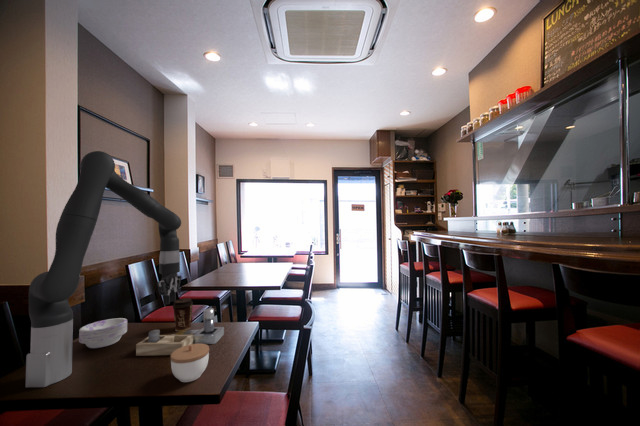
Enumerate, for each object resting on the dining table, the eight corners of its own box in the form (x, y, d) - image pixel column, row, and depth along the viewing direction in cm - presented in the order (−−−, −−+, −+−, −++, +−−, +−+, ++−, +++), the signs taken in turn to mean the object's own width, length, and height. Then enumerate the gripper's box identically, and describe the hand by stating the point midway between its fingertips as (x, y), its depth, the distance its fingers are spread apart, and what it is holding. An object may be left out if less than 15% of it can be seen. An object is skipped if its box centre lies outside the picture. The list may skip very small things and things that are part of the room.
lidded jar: (209, 364, 87) (209, 335, 88) (208, 381, 77) (208, 349, 78) (173, 371, 83) (173, 341, 84) (167, 391, 73) (167, 356, 74)
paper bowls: (99, 336, 114) (100, 318, 114) (135, 334, 114) (135, 316, 115) (67, 353, 98) (67, 331, 99) (108, 351, 99) (109, 330, 99)
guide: (194, 342, 104) (194, 340, 104) (162, 343, 104) (162, 341, 105) (201, 336, 111) (201, 333, 111) (171, 336, 111) (171, 334, 111)
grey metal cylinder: (211, 341, 105) (211, 311, 106) (201, 341, 105) (201, 311, 106) (215, 337, 109) (215, 308, 110) (206, 337, 109) (206, 308, 110)
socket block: (215, 343, 103) (215, 335, 103) (192, 344, 103) (192, 336, 103) (223, 334, 112) (223, 326, 112) (203, 334, 112) (203, 327, 112)
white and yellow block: (195, 341, 106) (195, 333, 106) (175, 341, 106) (175, 333, 106) (199, 336, 110) (199, 329, 110) (181, 337, 110) (181, 329, 110)
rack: (181, 354, 94) (181, 335, 95) (136, 355, 95) (136, 336, 95) (193, 344, 102) (193, 326, 103) (150, 345, 103) (150, 327, 103)
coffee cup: (173, 327, 122) (173, 299, 123) (193, 323, 125) (193, 296, 126) (171, 333, 114) (171, 303, 115) (192, 330, 118) (192, 301, 118)
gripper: (171, 259, 117) (170, 298, 116) (149, 264, 102) (149, 308, 102) (187, 259, 116) (187, 298, 116) (168, 263, 102) (168, 308, 101)
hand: (169, 302), depth 109 cm, fingers open, 3 cm apart
